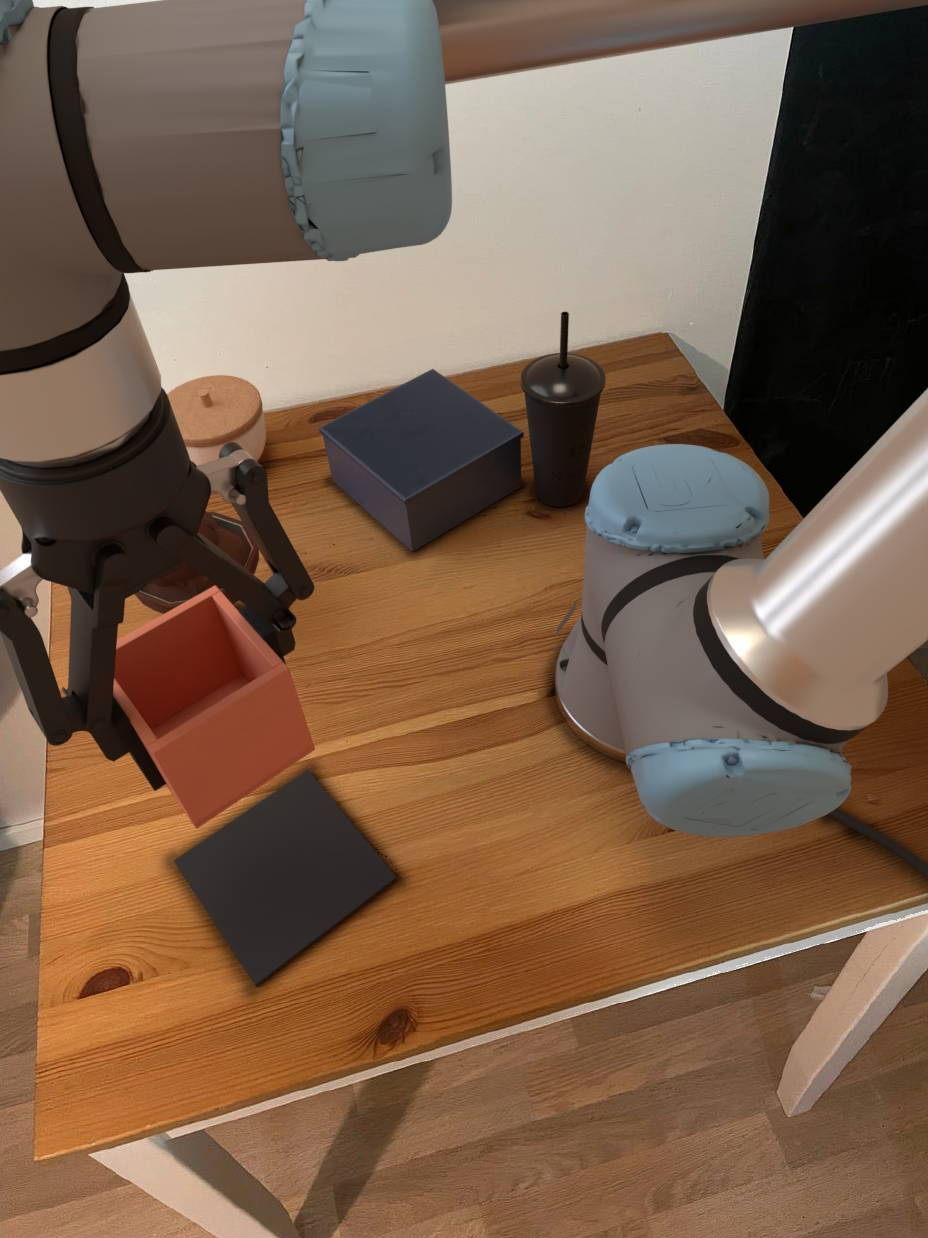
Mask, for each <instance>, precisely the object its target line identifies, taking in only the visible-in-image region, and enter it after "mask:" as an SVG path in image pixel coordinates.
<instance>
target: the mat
mask: <svg viewBox="0 0 928 1238" xmlns="http://www.w3.org/2000/svg"><path fill="white" fill-rule="evenodd" d="M173 863H174V864H175V865H176V867H177V868H178V870H179V871H180V873H181V874H182V876H183V877H184V879H185V881H186V882H187V884H188V885H189V886H190V888H191V889H192V891H193V893H194V894H195V896H196V897H197V899H198V900H199V902H200V903H201V905H202V907H203V908H204V909H205V911H206V913H207V914H208V916H209V917H210V919H211V921H212V922H213V923H214V925H215V926H216V928H217V929H218V931H219V932H220V934H221V935H222V937H223V938H224V941H225V942H226V943H227V944H228V946H229V948H230V950H231V951H232V952H233V954H234V955H235V957H236V959H237V960H238V962H239V963H240V964H241V966H242V969H244V971H245V973H246V974H247V975H248V977H249V978H250V980H251V982H252V983H253V985H254V987H259V986H260V985H261V984H262V983H264V982H265V981H266V980H267V979H269V978H271V976H273V975H274V974H276V972H278V971H279V970H281V969H282V968H283V967H285V966H286V965H287V964H288V963H290V962H291V961H293V960H294V959H295V958H296V957H297V956H299V955H300V954H301V953H303V952H304V951H306V950H307V949H308V948H309V947H311V946H312V945H313V944H314V943H316V942H317V941H319V940H320V939H321V938H322V937H324V936H325V935H327V934H328V933H329V932H330V931H332V930H333V929H334V928H335V927H337V926H338V925H339V924H341V923H342V922H343V921H345V920H346V919H347V918H349V917H350V916H351V915H352V914H354V913H355V912H356V911H358V910H359V909H360V908H361V907H363V906H365V905H366V904H367V903H368V902H369V901H371V900H372V899H373V898H375V897H376V896H377V895H379V894H380V893H381V892H382V891H384V890H385V889H387V888H388V887H389V886H390V885H392V884H393V883H394V882H396V881H397V880H398V879H397V876H396V874H395V873H394V872H393V871H392V870H391V868H389V866H388V865H387V863H386V862H385V861H384V860H383V859H382V857H381V856H380V855H379V854H378V852H377V851H376V850H375V849H374V848H373V847H372V845H371V844H370V843H369V841H368V840H367V839H366V838H365V837H364V836H363V835H362V834H361V832H360V831H359V829H358V828H357V826H355V824H354V823H353V822H352V821H351V820H350V819H349V818H348V816H347V815H346V814H345V813H344V812H343V810H342V809H341V808H340V806H339V805H338V804H337V802H335V800H334V799H333V798H332V797H331V796H330V794H329V793H328V792H327V790H325V788H324V787H323V786H322V784H321V783H320V782H319V781H318V780H317V778H316V777H315V776H314V775H313V773H312V772H311V771H310V770H309V769H306V770H304V771H303V772H302V773H300V774H299V775H297V776H296V777H294V778H293V779H291V780H290V781H289V782H287V783H285V784H284V785H283V786H281V787H280V788H278V789H277V790H275V791H273V792H272V793H271V794H269V795H268V796H266V797H265V798H263V799H262V800H261V801H259V802H257V803H256V804H254V805H253V806H252V807H250V808H249V809H247V810H246V811H244V812H242V814H240V815H238V816H237V817H235V818H234V819H233V820H231V821H230V822H228V823H226V824H225V825H223V826H222V827H220V828H219V829H218V830H216V831H214V832H213V833H212V834H211V835H209V836H208V837H206V838H205V839H203V840H202V841H200V842H199V843H196V845H194V846H192V847H191V848H189V849H188V850H187V851H185V852H184V853H182V854H181V855H179V856H178V857H176V858H175V859H174V860H173Z"/></svg>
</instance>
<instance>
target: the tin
mask: <svg viewBox="0 0 928 1238" xmlns="http://www.w3.org/2000/svg"><path fill="white" fill-rule="evenodd" d="M318 432H319V433H320V434H321V435H322V437H323V443H324V447H325V452H326V456H327V461H328V467H329V471H330V475H331V479H332V482H333V483H334V484H335V485H336V486H338V488H340V489H341V490H342V491H343V492H344V493H345V494H347V495H348V496H349V497H350V498H351V499H352V500H353V501H354V502H356V503H357V504H358V505H359V506H360V507H361V508H362V509H364V510H365V512H367V513H368V514H369V515H370V516H371V517H373V519H375V520H376V521H377V522H378V523H379V524H380V525H382V526H383V527H384V528H385V529H386V530H387V531H388V532H389V533H391V535H393V536H394V538H396V539H397V540H398V541H399V542H401V543H402V544H403V545H404V546H405V547H406V548H407V549H409V550H410V551H411V552H413V553H414V552H415V551H416V550H419V549H420V548H422V547H423V546H425V545H427V544H428V543H430V542H432V541H433V540H435V539H437V538H438V537H440V536H441V535H444V534H445V533H446V532H449V531H450V530H452V529H453V528H455V527H457V526H458V525H460V524H462V523H463V522H465V521H466V520H468V519H470V518H471V517H473V516H475V515H477V514H478V513H479V512H481V511H483V510H485V509H486V508H488V507H490V506H492V505H494V503H496V502H498V501H500V500H501V499H503V498H505V497H506V496H508V495H510V494H511V493H513V492H515V491H516V490H518V489H520V488H521V487H522V444H521V443H522V438H524V436H525V435H524V434H525V432H524V431H523V430H521V429H520V428H519V427H517V426H516V425H514V424H513V423H512V422H510V421H509V420H508V419H506V418H504V417H503V416H501V415H500V414H499V413H497V412H495V411H494V410H493V409H491V408H490V407H489V406H487V405H486V404H484V403H483V402H481V401H480V400H479V399H477V398H476V397H474V396H473V395H472V394H470V393H469V392H467V391H466V390H464V389H463V388H462V387H460V386H459V385H457V384H456V383H454V382H453V381H451V380H450V379H449V378H447V377H446V376H444V375H443V374H441V373H440V372H438V371H437V370H435V368H431V369H429V370H427V371H426V372H423V373H422V374H419V375H418V376H416V377H413V378H412V379H410V380H408V381H406V382H404V383H402V384H400V385H398V386H396V387H394V388H393V389H390V390H388V391H387V392H384V393H383V394H381V395H379V396H377V397H375V398H373V399H371V400H368V401H367V402H365V403H363V404H361V405H359V406H357V407H356V408H354V409H351V410H350V411H347V412H346V413H344V414H342V415H340V416H338V417H336V418H334V419H332V420H330V421H328V422H327V423H324V424H322V425H321V426H319V427H318Z"/></svg>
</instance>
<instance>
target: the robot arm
mask: <svg viewBox="0 0 928 1238" xmlns="http://www.w3.org/2000/svg"><path fill="white" fill-rule="evenodd" d="M34 5H35V4H34V0H0V493H1V494H2V496H3V499H4V500H5V501H6V503H7V506H8V507H9V508H10V510H11V511H12V513H13V515H14V517H15V519H16V520H17V523H18V524H19V525H20V528H21V532H22V535H21V536H22V538H21V545H20V549H21V555H19V556H18V557H16V558H15V559H13V560H12V561H10V562H9V563H8V564H6V565H5V566H3V567H1V568H0V636H1V638H2V641H3V644H4V647H5V649H6V652H7V655H8V658H9V660H10V663H11V665H12V669H13V671H14V674H15V676H16V677H15V678H16V679H17V682H18V685H19V688H20V690H21V693H22V695H23V698H24V701H25V704H26V706H27V709H28V712H29V713H30V715H31V716H32V718H33V720H34V721H35V723H36V725H37V726H38V728H39V729H40V731H41V733H42V735H43V736H44V738H45V739H46V741H47V743H48V744H49V745H50V746H53V747H58V746H62V745H64V744H66V743H67V742H68V741H69V740H71V738H72V737H73V734H74V733H77V732H87V733H89V734H90V735H91V737H92V738H93V740H94V742H95V743H96V745H97V746H98V748H99V749H100V751H101V753H103V755H104V757H105V758H106V759H107V760H108V761H111V762H116V761H117V760H119V759H121V758H122V757H124V756H125V755H127V754H129V755H130V756H131V758H132V760H133V762H134V763H135V764H136V766H137V767H138V769H139V770H140V772H141V773H142V774H143V776H144V778H145V779H146V781H147V782H148V784H149V785H150V787H151V788H152V789H153V791H154V792H156V791H157V790H159V789H161V788H162V787H164V786H166V782H165V780H164V779H163V777H162V775H161V773H160V772H159V770H158V768H157V767H156V765H155V763H154V762H153V760H152V758H151V756H150V755H149V753H148V751H147V750H146V748H145V746H144V744H143V743H142V741H141V739H140V738H139V736H138V734H137V732H136V731H135V729H134V727H133V726H132V724H131V722H130V719H129V718H128V716H127V715H126V713H125V712H124V711H123V709H122V708H121V706H120V705H119V703H118V702H117V701H116V699H115V698H114V696H113V687H114V673H115V660H116V646H117V640H118V631H119V624H123V622H124V619H125V607H126V599H128V598H130V597H131V596H133V595H135V593H137V592H139V591H140V590H141V589H142V588H144V587H145V586H146V585H147V584H149V583H150V582H151V581H152V580H155V579H158V578H161V577H164V576H167V575H170V574H172V573H174V572H175V571H177V570H179V569H181V568H183V565H182V562H183V563H185V564H186V565H188V566H189V567H190V568H192V569H193V570H195V571H196V572H197V573H199V574H200V575H202V576H203V577H205V576H206V577H207V578H209V579H210V580H211V581H213V582H214V583H216V584H217V585H218V586H220V587H221V588H223V589H224V590H225V591H227V592H228V593H230V594H231V595H232V596H234V597H235V598H237V599H238V600H239V601H238V602H241V603H242V604H243V606H241V607H239V608H240V609H238V610H239V613H240V614H241V615H242V616H243V617H244V618H245V619H246V621H247V622H248V623H249V624H250V625H251V626H252V627H253V628H254V630H255V631H256V632H257V633H258V634H259V635H260V636H261V638H262V639H263V640H264V641H265V642H266V643H267V644H268V645H269V646H270V647H271V649H272V650H273V651H274V652H275V653H276V654H277V655H278V657H279V658H280V659H281V660H282V661H283V663H285V664H286V665H287V662H286V660H285V657H286V656H287V655H288V654H290V653H292V652H294V651H295V648H296V643H297V642H296V639H295V636H294V633H293V628H294V627H295V626H296V624H297V622H298V621H297V617H296V615H295V614H294V613H293V612H292V610H290V607H291V606H292V605H293V604H294V602H296V601H297V600H298V601H305V600H307V599H309V598H310V597H311V596H312V595H313V593H314V591H315V588H316V587H315V584H314V582H313V580H312V578H311V576H310V575H309V573H308V571H307V569H306V567H305V565H304V563H303V561H302V560H301V558H300V556H299V555H298V553H297V551H296V549H295V547H294V546H293V543H292V542H291V540H290V538H289V536H288V534H287V533H286V531H285V529H284V527H283V525H282V523H281V522H280V520H279V518H278V516H277V515H276V513H275V511H274V509H273V507H272V505H271V503H270V496H269V484H268V482H269V481H268V473H267V470H266V469H265V467H263V465H261V464H260V463H259V462H258V461H256V460H255V459H254V458H253V457H252V456H251V455H250V454H249V453H248V452H247V451H245V450H244V449H243V448H242V447H241V446H240V445H239V444H238V443H235V442H229V443H227V444H225V445H224V446H223V447H222V448H221V450H220V452H219V459H216V460H213V461H210V462H207V463H204V464H201V465H198V466H196V464H195V463H193V462H192V461H191V460H190V457H189V454H188V451H187V448H186V446H185V443H184V440H183V437H182V434H181V432H180V429H179V426H178V423H177V420H176V418H175V415H174V412H173V409H172V407H171V404H170V401H169V398H168V396H167V394H168V393H167V392H166V391H165V389H164V388H163V386H162V374H161V372H160V369H159V366H158V364H157V361H156V359H155V355H154V353H153V351H152V348H151V344H150V342H149V340H148V337H147V335H146V331H145V329H144V326H143V324H142V322H141V318H140V316H139V313H138V310H137V308H136V305H135V302H134V300H133V297H132V295H131V292H130V287H129V283H128V281H127V278H126V276H125V274H139V273H151V272H154V271H163V270H179V269H193V268H194V269H195V268H208V267H209V268H211V267H226V266H241V265H256V264H257V265H258V264H271V263H272V264H273V263H286V262H287V263H289V262H302V261H319V260H326V261H327V262H346V261H348V260H349V259H353V258H354V259H355V258H357V257H358V256H360V255H365V254H369V253H375V252H381V251H388V250H395V249H402V248H408V247H416V246H422V245H427V244H429V243H431V242H433V241H434V240H435V239H437V238H438V237H439V236H441V235H442V233H443V232H444V231H445V230H446V228H447V226H448V224H449V222H450V220H451V215H452V210H453V186H452V185H453V183H452V181H453V180H452V165H451V163H452V162H451V149H450V131H449V115H448V103H447V90H446V85H452V84H456V83H457V84H459V83H463V82H464V83H465V82H469V81H475V80H481V79H488V78H493V77H499V76H500V77H501V76H506V75H511V74H512V75H513V74H518V73H523V72H530V71H536V70H543V69H547V68H555V67H559V66H566V65H567V66H568V65H572V64H579V63H585V62H590V61H591V62H592V61H596V60H602V59H608V58H614V57H615V58H616V57H621V56H626V55H632V54H638V53H644V52H652V51H657V50H664V49H669V48H675V47H681V46H687V45H694V44H700V43H704V42H711V41H718V40H723V39H724V40H725V39H730V38H736V37H741V36H747V35H754V34H760V33H766V32H771V31H777V30H783V29H784V30H785V29H790V28H796V27H802V26H809V25H814V24H820V23H825V22H826V23H827V22H832V21H839V20H844V19H850V18H856V17H862V16H869V15H875V14H880V13H887V12H892V11H899V10H904V9H910V8H915V7H916V8H917V7H923V6H928V0H153V1H145V2H135V3H128V4H118V5H110V6H109V5H108V6H102V7H94V6H79V7H78V6H77V7H67V6H63V5H56V6H55V5H54V6H46V7H44V6H43V7H40V6H36V5H35V6H34ZM212 493H216V494H217V495H218V496H219V497H220V498H221V499H222V500H223V501H224V502H225V503H226V504H231V506H232V507H233V509H234V511H235V512H236V514H237V516H238V517H239V520H240V521H242V522H243V524H244V526H245V527H246V529H247V531H248V532H249V534H250V536H251V537H252V539H253V541H254V542H255V544H256V546H257V547H258V549H259V553H260V554H261V556H262V558H263V559H264V562H266V564H267V566H268V567H269V570H270V571H271V573H272V575H271V576H270V577H269V578H268V579H267V580H266V581H265V582H264V581H263V580H261V579H260V578H259V577H257V576H256V575H255V574H254V575H253V574H252V573H251V572H249V571H248V570H247V569H245V568H244V567H243V566H242V565H240V564H239V563H238V562H236V561H235V560H234V559H233V558H231V557H230V556H229V555H227V554H226V553H225V552H224V551H222V550H221V549H220V548H218V547H217V546H216V545H215V544H213V543H212V542H211V541H209V540H208V539H207V538H206V537H204V536H203V535H202V534H200V533H199V532H198V531H199V528H200V525H201V522H202V519H203V516H204V513H205V511H206V512H207V507H208V505H209V502H210V499H211V496H212ZM769 508H770V494H769V490H768V487H767V485H766V483H765V481H764V480H763V479H762V477H761V476H760V475H759V473H758V472H757V471H756V470H755V469H754V468H753V467H751V466H750V465H749V464H747V463H746V462H745V461H742V460H741V459H740V458H737V457H735V456H733V455H732V454H728V453H726V452H721V451H717V450H715V449H713V448H711V447H706V446H702V445H696V444H686V443H684V444H683V443H666V444H655V445H649V446H645V447H640V448H637V449H634V450H631V451H629V452H626V453H624V454H622V455H620V456H618V457H617V458H616V459H615V460H613V462H612V463H610V464H607V465H606V466H605V467H603V468H602V469H601V471H599V473H598V474H597V475H596V477H595V479H594V480H593V482H592V485H591V488H590V493H589V499H588V504H587V506H586V507H585V511H584V523H585V524H586V533H585V547H584V563H583V579H582V595H581V596H582V597H581V614H580V616H579V617H578V619H577V621H576V623H575V624H574V625H573V627H572V629H571V630H570V632H569V634H568V635H567V637H566V639H565V640H564V642H563V644H562V646H561V648H560V651H559V653H558V656H557V659H556V663H555V673H554V692H555V693H554V694H555V698H556V703H557V705H558V708H559V711H560V713H561V715H562V717H563V719H564V720H565V722H566V724H567V726H569V727H570V729H571V730H572V731H573V733H574V734H575V735H577V737H578V738H579V739H581V740H582V741H583V742H584V743H586V745H588V746H590V747H591V748H592V749H594V750H596V751H597V752H599V753H601V754H603V755H605V756H607V757H609V758H612V759H613V760H618V761H620V762H624V763H625V764H626V766H627V768H628V769H629V770H630V772H631V776H632V778H633V782H634V785H635V788H636V791H637V795H638V799H639V801H640V803H641V805H642V807H643V808H644V810H645V812H646V813H647V814H648V815H649V816H650V817H651V818H652V819H653V820H654V821H656V822H657V823H659V824H660V825H661V826H664V827H666V828H668V829H670V830H673V831H675V832H679V833H683V834H687V835H692V836H697V837H698V836H699V837H708V838H743V837H753V836H761V835H766V834H767V835H768V834H773V833H777V832H782V831H786V830H787V831H788V830H790V829H794V828H797V827H801V826H804V825H806V824H808V823H812V822H813V821H816V820H818V819H820V818H822V817H824V816H826V815H828V816H829V817H831V818H833V819H834V820H836V821H838V822H839V823H841V824H843V825H844V826H847V827H848V828H850V829H852V830H854V831H855V832H857V833H859V834H861V835H863V836H864V837H866V838H868V839H869V840H871V841H873V842H875V843H877V844H879V845H880V846H882V847H883V848H885V849H886V850H888V851H890V852H891V853H892V854H894V855H896V856H897V857H899V858H900V859H901V860H903V861H904V862H906V863H907V864H908V865H909V866H911V867H912V868H914V869H915V870H916V871H918V872H919V873H920V874H922V875H923V876H924V877H925V878H926V879H928V863H927V862H925V861H924V860H923V859H922V858H920V857H919V856H918V855H916V854H915V853H914V852H912V851H911V850H909V849H908V848H907V847H905V846H903V845H902V844H901V843H899V842H897V841H896V840H894V839H892V838H891V837H890V836H888V835H886V834H884V833H883V832H880V831H879V830H878V829H876V828H874V827H873V826H870V825H868V824H867V823H865V822H863V821H861V820H859V819H858V818H856V817H854V816H852V815H851V814H849V813H847V812H845V811H844V810H842V809H840V808H839V807H840V806H841V805H842V804H843V803H844V802H845V801H846V800H847V798H848V797H849V795H850V793H851V792H852V791H851V790H852V785H851V784H852V776H851V775H852V765H851V763H850V762H849V761H848V759H847V758H846V757H845V756H844V754H843V749H844V747H845V746H846V744H847V743H849V742H850V741H851V740H853V739H854V738H855V737H856V736H858V735H859V734H860V733H862V732H863V731H865V730H866V729H867V728H868V727H870V726H871V725H872V724H874V723H875V722H876V721H877V720H878V719H879V717H880V716H881V715H882V714H883V712H884V711H885V709H886V706H887V704H888V698H889V683H888V673H889V672H890V671H891V670H893V669H894V668H895V667H896V666H897V665H899V664H900V663H902V661H904V660H905V659H906V658H907V657H909V656H910V655H911V654H912V653H914V652H915V651H916V650H917V649H919V648H920V647H921V646H922V645H924V644H925V643H926V642H927V641H928V387H927V388H926V390H924V391H923V393H922V394H920V395H919V397H918V398H917V399H916V400H915V401H914V402H912V404H911V405H910V406H909V407H908V408H907V409H906V411H905V412H903V414H901V416H899V418H898V419H896V421H895V422H894V423H893V424H892V425H891V426H890V427H889V428H888V430H886V431H885V433H883V435H881V436H880V437H879V438H878V440H877V441H876V442H875V443H874V444H873V445H872V446H871V447H870V448H869V450H867V451H866V452H865V454H864V455H863V456H862V457H861V458H860V459H859V460H858V461H857V462H856V463H855V464H854V465H853V466H852V467H851V468H850V469H849V470H848V471H847V472H846V474H845V475H844V476H843V477H841V479H840V480H839V481H838V482H837V483H836V484H835V485H834V486H833V487H832V488H831V489H830V490H829V492H827V493H826V494H825V496H824V497H823V498H822V499H821V500H820V501H819V502H818V503H817V504H816V505H815V506H814V507H813V508H812V509H811V511H809V513H807V515H806V516H805V517H804V518H803V519H802V520H801V521H800V522H799V523H798V524H797V525H796V526H795V527H794V529H792V530H791V531H790V533H788V535H786V537H785V538H784V539H783V540H782V541H781V542H780V543H779V544H777V546H776V547H775V548H774V549H773V550H772V551H771V553H770V554H768V556H767V557H766V558H765V554H764V551H763V534H764V532H765V530H766V529H767V528H768V525H769V522H770V518H771V514H770V512H769V511H770V509H769ZM43 580H44V581H46V582H49V583H50V582H51V583H54V584H57V585H60V586H64V587H66V588H67V591H68V594H69V596H70V600H71V601H70V623H69V649H68V678H67V688H65V687H64V686H63V687H61V691H62V692H63V694H64V696H63V697H62V693H61V691H60V688H59V684H58V681H57V679H56V675H55V672H54V669H53V667H52V663H51V660H50V657H49V654H48V651H47V648H46V644H45V642H44V639H43V637H42V634H41V631H40V629H39V628H38V626H37V625H36V623H35V622H34V620H33V619H32V618H34V617H35V616H36V615H37V614H38V612H39V609H38V605H39V603H40V602H39V601H40V600H39V596H38V594H37V588H38V585H39V584H40V583H41V582H42V581H43ZM576 609H577V600H575V602H574V603H573V604H572V606H571V608H569V610H568V612H567V613H566V614H565V616H564V618H563V619H562V620H561V622H560V623H559V624H558V626H556V636H558V635H559V634H560V632H561V631H562V629H563V628H564V626H566V624H567V622H568V621H569V620H570V618H571V616H572V615H573V614H574V612H575V611H576Z"/></svg>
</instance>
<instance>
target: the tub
mask: <svg viewBox="0 0 928 1238" xmlns="http://www.w3.org/2000/svg"><path fill="white" fill-rule="evenodd" d="M234 606H235V604H232V603H231V602H230V601H229V600H228V599H227V598H226V596H225V595H224V594H223V593H222V592H221V591H220V590H219V588H218V587H217V586H213V587H211V588H209V589H208V590H206V591H204V592H202V593H201V594H199V595H197V596H195V597H193V598H192V599H190V600H188V601H186V602H185V603H183V604H181V605H179V606H177V607H176V608H174V609H172V610H170V611H169V612H167V613H165V614H162V615H160V616H158V617H155V618H154V619H153V620H151V621H149V622H147V623H146V624H143V625H142V626H140V627H138V628H136V629H135V630H133V631H131V632H130V633H128V634H125V635H124V636H122V637H121V638H119V639H117V646H116V660H115V673H114V687H113V696H114V698H115V699H116V701H117V702H118V703H119V705H120V706H121V708H122V709H123V711H124V712H125V713H126V715H127V716H128V718H129V719H130V722H131V724H132V726H133V727H134V729H135V731H136V732H137V734H138V736H139V738H140V739H141V741H142V743H143V744H144V746H145V748H146V750H147V751H148V753H149V755H150V756H151V758H152V760H153V762H154V763H155V765H156V767H157V768H158V770H159V772H160V773H161V775H162V777H163V779H164V780H165V782H166V785H165V786H166V788H167V789H168V790H169V792H170V793H171V795H172V796H173V797H174V799H175V801H176V802H177V803H178V805H179V806H180V808H181V809H182V811H183V812H184V813H185V815H186V817H187V818H188V819H189V821H190V822H191V824H192V825H193V827H194V828H195V829H197V830H198V829H199V828H200V827H202V826H203V825H205V824H206V823H208V822H210V821H211V820H212V819H214V818H215V817H217V816H219V815H220V814H221V813H223V812H224V811H226V810H228V809H229V808H231V807H233V805H234V804H236V803H237V802H239V801H241V800H243V799H244V798H245V797H248V795H250V794H251V793H253V792H254V791H256V790H258V789H259V788H261V787H262V786H263V785H264V784H266V783H268V782H269V781H270V780H272V779H274V778H276V777H277V776H278V775H279V774H281V773H283V772H284V771H285V770H287V769H289V768H290V767H291V766H293V765H295V764H296V763H298V762H299V761H300V760H302V759H304V758H306V757H307V756H308V755H310V754H311V753H312V752H314V751H316V747H315V744H314V741H313V738H312V735H311V732H310V728H309V725H308V723H307V719H306V717H305V713H304V710H303V707H302V703H301V701H300V698H299V694H298V692H297V689H296V685H295V682H294V680H293V677H292V674H291V670H290V668H289V666H288V665H287V663H286V662H285V663H286V664H285V663H283V661H282V660H281V659H280V658H279V657H278V655H277V654H276V653H275V652H274V651H273V650H272V649H271V647H270V646H269V645H268V644H267V643H266V642H265V641H264V640H263V639H262V638H261V636H260V635H259V634H258V633H257V632H256V631H255V630H254V628H253V627H252V626H251V625H250V624H249V623H248V622H247V621H246V619H245V618H244V617H243V616H242V615H241V614H240V613H239V611H238V610H237V609H236V608H235V607H236V606H235V607H234Z"/></svg>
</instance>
